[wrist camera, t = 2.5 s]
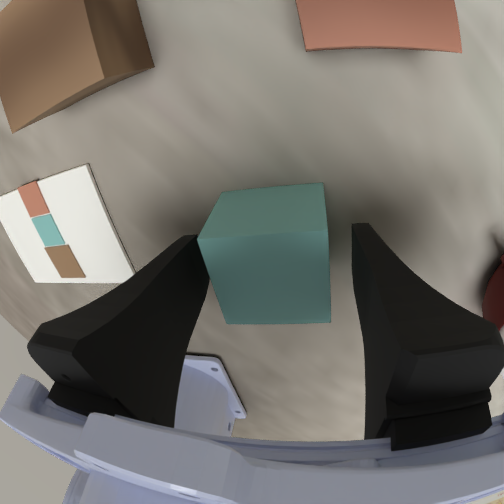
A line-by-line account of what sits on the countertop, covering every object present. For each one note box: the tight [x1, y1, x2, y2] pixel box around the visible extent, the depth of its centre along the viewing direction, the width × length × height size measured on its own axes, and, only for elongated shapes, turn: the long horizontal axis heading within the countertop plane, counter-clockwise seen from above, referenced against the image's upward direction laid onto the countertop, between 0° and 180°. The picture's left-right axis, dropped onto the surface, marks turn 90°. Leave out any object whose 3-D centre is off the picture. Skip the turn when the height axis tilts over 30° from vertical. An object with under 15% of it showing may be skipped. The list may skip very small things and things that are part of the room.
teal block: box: [197, 183, 331, 324], centre depth 12 cm, size 4×4×4 cm
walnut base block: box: [0, 0, 154, 134], centre depth 7 cm, size 5×5×4 cm
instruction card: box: [0, 164, 135, 283], centre depth 15 cm, size 7×10×1 cm
